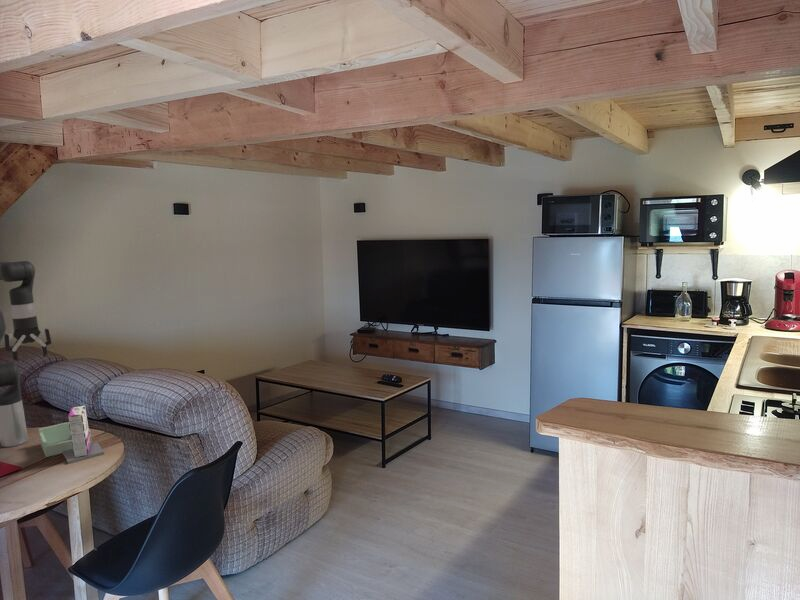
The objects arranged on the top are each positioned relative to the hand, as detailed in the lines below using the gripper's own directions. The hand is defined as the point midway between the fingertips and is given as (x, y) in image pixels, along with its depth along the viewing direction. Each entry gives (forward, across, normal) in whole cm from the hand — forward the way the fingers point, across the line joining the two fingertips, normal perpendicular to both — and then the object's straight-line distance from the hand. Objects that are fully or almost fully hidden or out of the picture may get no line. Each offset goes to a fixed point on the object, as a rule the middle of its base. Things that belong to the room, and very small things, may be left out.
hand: (30, 358), depth 209 cm
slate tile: (+38, -12, +10) cm, 41 cm away
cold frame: (+38, -8, -5) cm, 39 cm away
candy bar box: (+37, -11, +9) cm, 40 cm away
